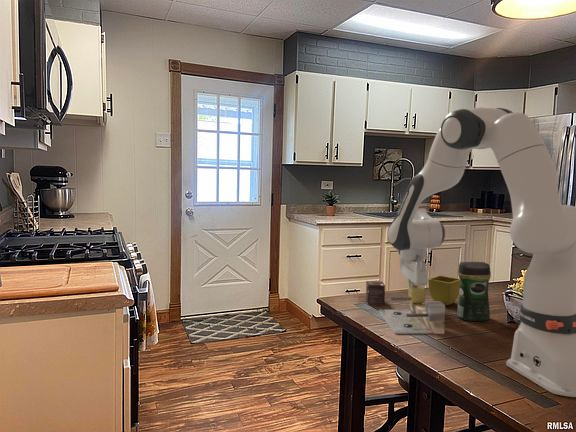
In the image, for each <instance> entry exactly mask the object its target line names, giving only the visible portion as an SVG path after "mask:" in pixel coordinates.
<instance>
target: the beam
mask: <svg viewBox="0 0 576 432" xmlns="http://www.w3.org/2000/svg"><path fill="white" fill-rule="evenodd" d="M409 302H410V301H409ZM409 310H410V311H411V312H412V314H406V316H407V317H417V318H418V319H419V320H420V321H421V323H422V324H423V325H424V326H425V327H426V328H427V329H428V330H429V331H430V332H431V333H433V334H434V335H437V334H438V335H442V334H443V335H445V324H446V323H444V322H445V317H446V316H445V315H446V314H445V313H446V305H444V304H443V303H442V302H440V301H434V300H431V301H430V300H429V301H428V300H426V301H425V304H424V303H411V302H410V303H409Z"/></svg>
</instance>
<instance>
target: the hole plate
mask: <svg viewBox="0 0 576 432" xmlns="http://www.w3.org/2000/svg"><path fill="white" fill-rule="evenodd" d="M412 313H413V311H412V310H411V309H379V314H380V315H381V317H382V318H383V319H384V321H385V323H387V325H388V326H389V328H390V329H391V331H392V332H393V334H394V335H428V334H429V335H430V329H429V328H428V327H427V326H426V325H425V324H424V323H423V322H422V321H421V320H420V319H419V318H418V317H407V316H406V314H412Z"/></svg>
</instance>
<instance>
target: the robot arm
mask: <svg viewBox="0 0 576 432" xmlns="http://www.w3.org/2000/svg"><path fill="white" fill-rule="evenodd" d="M440 125H441V126H440V127H439V129H438V131H437V133H436V134H435V137H434V140H433V142H432V145H431V147H430V150H429V154H428V157H427V160H426V162H425V164H424V166H423V167H422V169H421V170H420V171H419V172H418V174H416V175H415V176H413V177H412V179H411V180H410V183H409V185H408V186H407V188H406V191H405V193H404V195H403V198H402V200H401V202H400V205H399V208H398V210H397V213H396V214H395V217H394V218H393V220H392V221H391V223H390V225H389V226H388V229H387V242H388V243H389V244H390V245H391V246H392V247H393V248H394V249H396V250H397V251H398V252H397V253H398V255H399V270H400V274H401V275H403V276H404V277H405V278H406V279H407V283H408V284H407V285H408V287H409V286H427V285H428V284H427V283H428V269H427V264H426V262H425V261H426V260H427V255H428V253H427V252H428V249H435V248H439V247H440V246H442V244H443V243H444V240H445V237H446V229H445V226H444V224H443V223H442V222H441V221H440V220H439V219H435V218H433V217H431V215H429V214H428V212H427V209H426V208H424V207H420V205H421V203H422V202H423V201H424V200H426V198H428V197H430V196H432V195H435V194H436V193H440V192H443V191H447V190H449V189H451V188H453V187H454V186H456V185H457V184H459V182H461V180H462V177H463V176H464V174H465V169H466V166H467V164H468V163H467V162H468V161H469V157H470V156H469V155H470V153H471V151H472V150H473V149H474V150H484V149H491V150H492V152H493V153H494V156H495V158H496V161H497V164H498V167H499V168H500V172H501V174H502V176H503V179H504V182H505V184H506V187H507V190H508V193H509V196H510V204H511V212H512V221H511V224H510V227H509V235H510V239H511V241H512V243H513V245H515V247H516V248H517V249H518V250H521V251H523V252H525V253H528V254H532V258H531V261H530V264H529V266H528V268H526V270H525V273H524V274H523V275H524V276H523V289H522V290H523V293H522V295H523V296H522V304H521V305H520V310H519V320H520V321H521V322H520V323H519V326H518V327H517V329H516V330H515V332H514V335H513V342H512V349H511V356H510V358H508V359H507V360H506V363H505V364H506V366H507V367H508V368H510V369H512V370H513V371H515V372H516V373H518V374H520V375H521V376H523V377H525V378H527V380H530V381H531V382H532V383H535V384H537V385H538V386H539V387H541V388H543V389H544V390H546V391H547V392H550V393H551V394H554V395H559V396H563V397H564V396H565V397H570V398H576V206H574V205H569V204H562V202H561V198H560V191H559V187H558V186H559V185H558V183H559V177H560V176H559V172H558V170H557V168H556V166H555V163H554V161H553V159H552V157H551V153H549V150H548V148H547V145H546V144H545V143H546V142H545V141H544V139H543V137H542V136H541V134H540V131H539V130H538V129H537V127H536V126H535V124H534V123H533V121H532V120H531V119H530V117H528V115H527V114H525V113H523V112H519V111H518V112H514V111H512V110H509V109H507V108H503V107H495V108H493V107H471V108H461V109H455V110H454V111H452V112H449V113H448V114H446V116H445V117H444V118H443V120H442V121H441V124H440ZM424 260H425V261H424Z"/></svg>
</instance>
